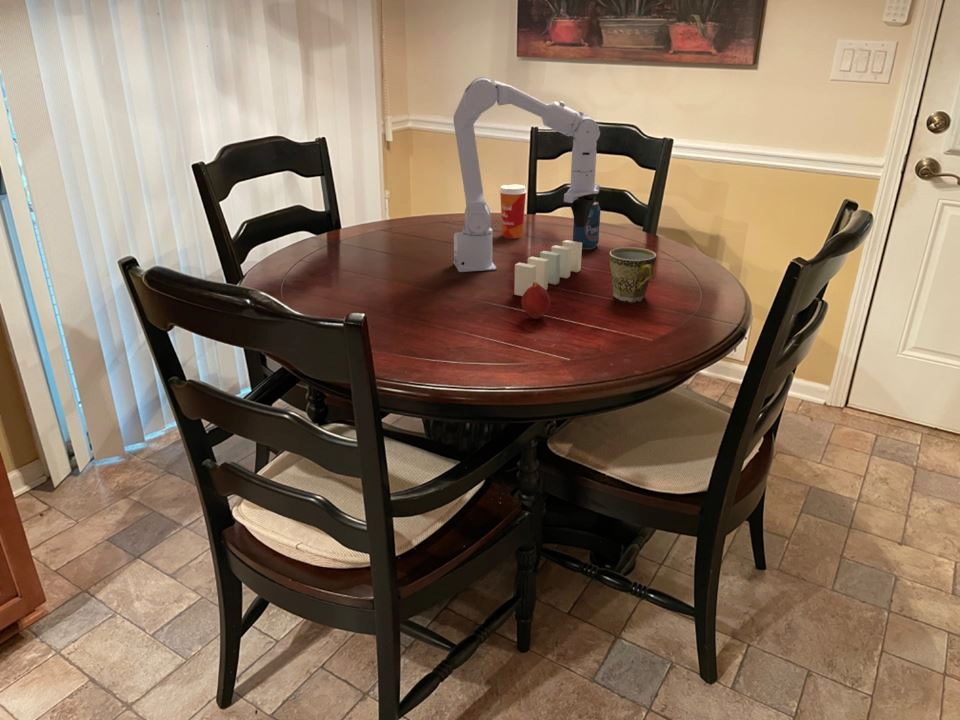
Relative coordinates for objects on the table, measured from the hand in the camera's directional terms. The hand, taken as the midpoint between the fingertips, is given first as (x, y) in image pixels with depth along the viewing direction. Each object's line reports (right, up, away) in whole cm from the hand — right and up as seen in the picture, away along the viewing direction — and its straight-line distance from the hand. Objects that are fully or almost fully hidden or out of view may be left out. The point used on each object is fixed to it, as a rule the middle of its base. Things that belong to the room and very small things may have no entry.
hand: (580, 226), depth 182 cm
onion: (-13, -24, -28) cm, 39 cm away
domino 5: (-2, -10, +1) cm, 11 cm away
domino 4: (-5, -12, -3) cm, 14 cm away
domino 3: (-8, -14, -7) cm, 18 cm away
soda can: (+4, -2, +20) cm, 21 cm away
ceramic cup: (+9, -19, -18) cm, 28 cm away
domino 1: (-15, -18, -15) cm, 28 cm away
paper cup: (-15, +2, +30) cm, 33 cm away
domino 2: (-11, -16, -11) cm, 23 cm away
